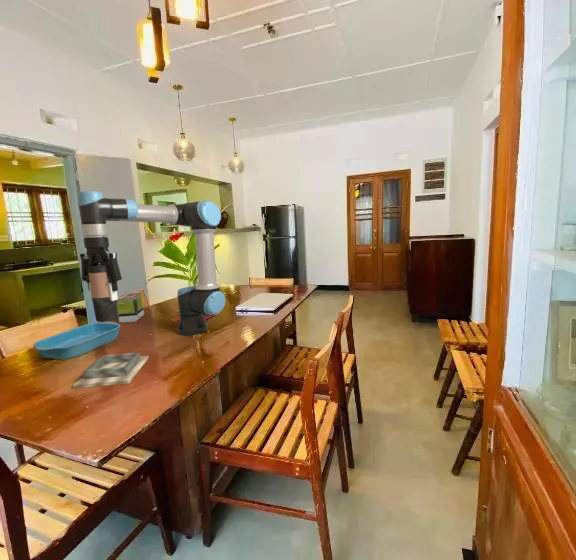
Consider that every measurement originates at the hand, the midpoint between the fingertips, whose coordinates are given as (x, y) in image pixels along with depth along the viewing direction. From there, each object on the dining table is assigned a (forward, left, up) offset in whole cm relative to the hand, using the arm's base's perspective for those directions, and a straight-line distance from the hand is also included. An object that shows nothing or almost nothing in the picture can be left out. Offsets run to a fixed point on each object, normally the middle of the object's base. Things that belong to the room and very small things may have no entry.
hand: (104, 299), depth 117 cm
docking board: (0, 0, -28) cm, 28 cm away
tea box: (+21, -78, -28) cm, 86 cm away
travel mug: (0, 0, -7) cm, 7 cm away
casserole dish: (+27, -32, -28) cm, 50 cm away
